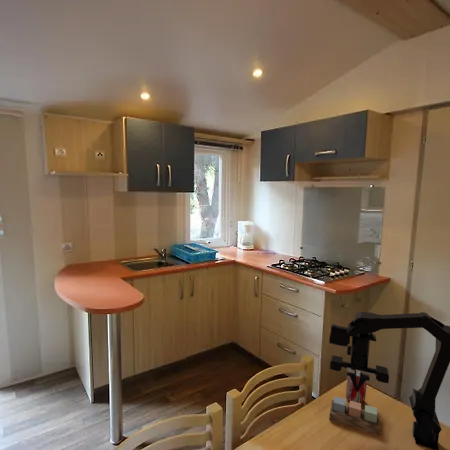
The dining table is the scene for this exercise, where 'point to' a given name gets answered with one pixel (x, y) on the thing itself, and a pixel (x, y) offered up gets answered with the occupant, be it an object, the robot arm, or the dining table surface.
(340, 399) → the button slate
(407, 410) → the dining table surface
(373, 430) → the brown wooden compartment tray
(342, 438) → the dining table surface
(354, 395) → the soda can
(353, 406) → the button terracotta
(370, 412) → the button sage
